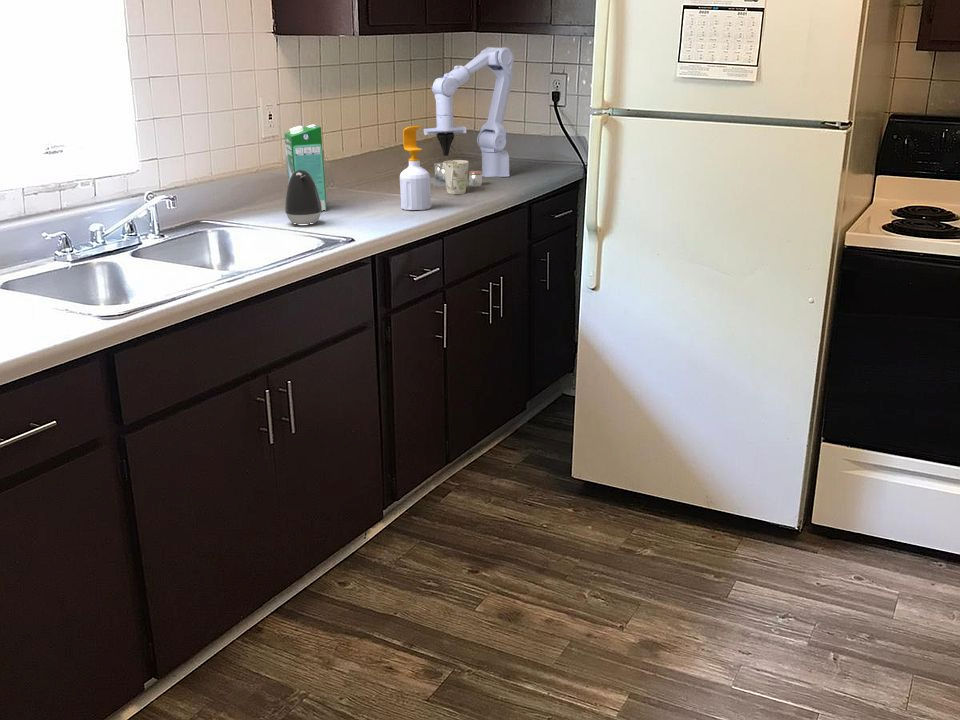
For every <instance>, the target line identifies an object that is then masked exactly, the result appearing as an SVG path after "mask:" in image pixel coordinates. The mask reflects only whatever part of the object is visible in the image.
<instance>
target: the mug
mask: <svg viewBox="0 0 960 720" xmlns="http://www.w3.org/2000/svg"><path fill="white" fill-rule="evenodd" d="M442 163H443V168H444V174H445V181H446V186H445V188H446V192H447V194H449V195H462V194H465V193H466V191H467V185H468V184H467V182H468V176H469V165H470V163H469V161H468V160H463V159H451V160H444V161H443V162H442Z"/></svg>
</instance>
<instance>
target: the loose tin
mask: <svg viewBox="0 0 960 720" xmlns="http://www.w3.org/2000/svg"><path fill="white" fill-rule="evenodd" d="M482 173H483V172H482V170H468V179H469V181H468V183H469V184H468V185H469V187H482V186H483V176H482Z"/></svg>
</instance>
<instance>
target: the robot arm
mask: <svg viewBox="0 0 960 720" xmlns="http://www.w3.org/2000/svg"><path fill="white" fill-rule="evenodd" d="M514 60H515V56H514V53H513V52H512V50H511V48H509V47H505V46H504V47H493V46H488V47H486V48H485V49H482V50H480V53H479V54H477V55H476V56H475V57H473V59H471V60H470V61H469V62H467V64H465V65H464V66H463V65H455V66H454V67H453V69H452V70H451V71H449V72H447V73H444V74H443V76H442V77H438V78H436V79H435V80H434V81H433V84H432V86H431V91H432V92H433V93H432V94H434V99H435V115H436V117H435V118H436V119H435V120H436V121H435V122H436V127H431V128H423V135H424V136H430V135H435V136H436V138H437V140H438V143H439V145H440V147H441V151H442V155H443V156H444V157H446V156H447V157H449V155H450V154H449V153H450V150H451V146H452V142H453V140H454V138H455V134H467V126H454V100H453V99H454V98H453V96H454V95H455V93H456V92H457V89H458V88H459V87H461V86H463V85H464V84H465V83H467V82H468V81H469V80H470V77H471V75H472V74H474V73H476V72H477V71H479V70H480V69H481V68H483V67H485V66H486V67H487V68H489V69H490V70H491V71H492V72H493V74H494V75H495V77H496V78H495V84H494V88H493V92H492V97H491V102H490V107H489V111H488V115H487V116H488V117H487V121H486V122H485V123H484V124H482V126H481V129H480V131H479V133H478V135H477V138H476V142H477V145H478V147H479V148H480V151H481V171H482V172H483V173H482V177H484V178H489V177H493V178H494V177H499V178H504V177H505V178H506V177H510V155H509V152H508V150H506V149H505V150H504V148H505V147H506V145H507V130H506V128H505V127H504V125H503V123H504V119H505V115H506V110H507V107H508V102H509V101H508V100H509V96H510V91H511V86H512V82H513V77H514V69H513V65H514Z"/></svg>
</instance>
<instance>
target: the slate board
mask: <svg viewBox="0 0 960 720" xmlns="http://www.w3.org/2000/svg"><path fill="white" fill-rule="evenodd" d="M430 185H433V186H434V187H446V182H441V181H439V179H435V177H430ZM467 185H469V181H467Z"/></svg>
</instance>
